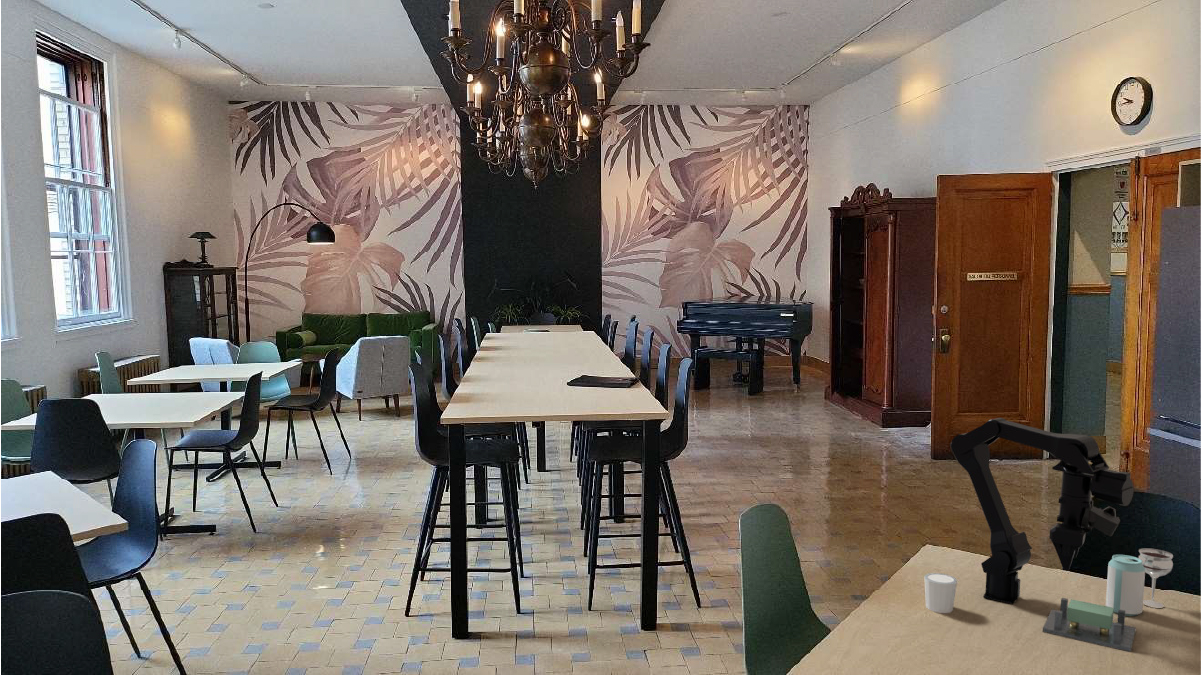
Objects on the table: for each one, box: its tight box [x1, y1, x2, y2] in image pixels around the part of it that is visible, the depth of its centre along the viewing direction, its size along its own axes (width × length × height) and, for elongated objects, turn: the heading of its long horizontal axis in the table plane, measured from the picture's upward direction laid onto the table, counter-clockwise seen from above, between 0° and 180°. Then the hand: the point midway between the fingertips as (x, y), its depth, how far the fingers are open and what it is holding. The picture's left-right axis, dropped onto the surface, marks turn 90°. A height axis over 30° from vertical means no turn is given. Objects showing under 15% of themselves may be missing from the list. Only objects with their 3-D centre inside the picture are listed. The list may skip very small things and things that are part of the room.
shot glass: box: [923, 572, 958, 614], centre depth 197 cm, size 7×7×7 cm
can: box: [1105, 554, 1146, 617], centre depth 196 cm, size 7×7×12 cm
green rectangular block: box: [1067, 598, 1115, 630], centre depth 185 cm, size 8×6×3 cm
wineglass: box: [1137, 548, 1174, 608], centre depth 199 cm, size 7×7×12 cm
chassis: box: [1042, 597, 1137, 652], centre depth 185 cm, size 16×12×4 cm
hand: (1069, 563), depth 191 cm, fingers open, 9 cm apart
